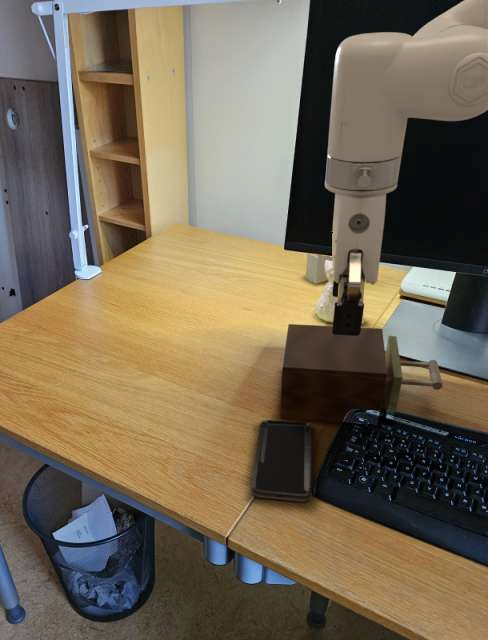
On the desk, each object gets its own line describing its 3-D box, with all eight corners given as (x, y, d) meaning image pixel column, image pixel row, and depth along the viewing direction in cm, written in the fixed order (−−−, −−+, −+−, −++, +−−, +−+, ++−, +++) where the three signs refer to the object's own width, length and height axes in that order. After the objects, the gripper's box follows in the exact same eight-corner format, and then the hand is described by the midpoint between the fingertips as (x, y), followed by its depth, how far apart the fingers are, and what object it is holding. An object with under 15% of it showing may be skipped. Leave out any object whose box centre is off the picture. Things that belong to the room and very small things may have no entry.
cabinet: (374, 378, 94) (382, 328, 88) (377, 426, 84) (387, 373, 78) (286, 372, 97) (288, 323, 91) (279, 418, 87) (282, 366, 81)
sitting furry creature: (366, 325, 107) (375, 266, 100) (323, 331, 107) (328, 272, 99) (347, 303, 115) (354, 247, 108) (307, 308, 114) (311, 252, 107)
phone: (313, 423, 83) (311, 497, 72) (312, 429, 84) (310, 503, 72) (260, 419, 85) (250, 491, 73) (260, 425, 86) (250, 497, 74)
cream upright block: (340, 276, 125) (344, 232, 119) (315, 283, 123) (319, 239, 117) (329, 270, 128) (333, 227, 122) (305, 278, 125) (308, 234, 119)
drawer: (428, 379, 91) (438, 338, 86) (438, 423, 82) (449, 380, 77) (305, 371, 95) (308, 331, 90) (302, 412, 86) (305, 371, 81)
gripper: (407, 197, 52) (381, 352, 62) (392, 150, 65) (372, 284, 76) (324, 197, 54) (312, 349, 64) (326, 151, 67) (316, 282, 77)
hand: (345, 314), depth 70 cm, fingers open, 9 cm apart
